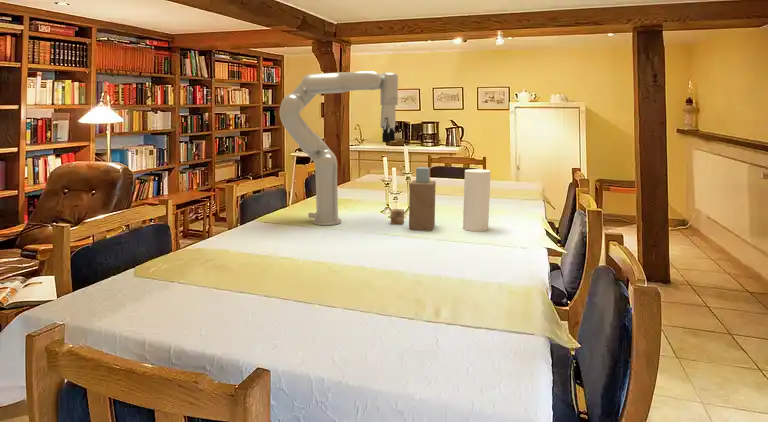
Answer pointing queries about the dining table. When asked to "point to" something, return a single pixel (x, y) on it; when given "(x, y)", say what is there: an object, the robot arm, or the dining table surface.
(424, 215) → the wooden block
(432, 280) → the dining table surface
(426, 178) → the slate block
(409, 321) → the dining table surface
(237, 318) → the dining table surface
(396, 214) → the oak block
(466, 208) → the tall pillar cylinder
